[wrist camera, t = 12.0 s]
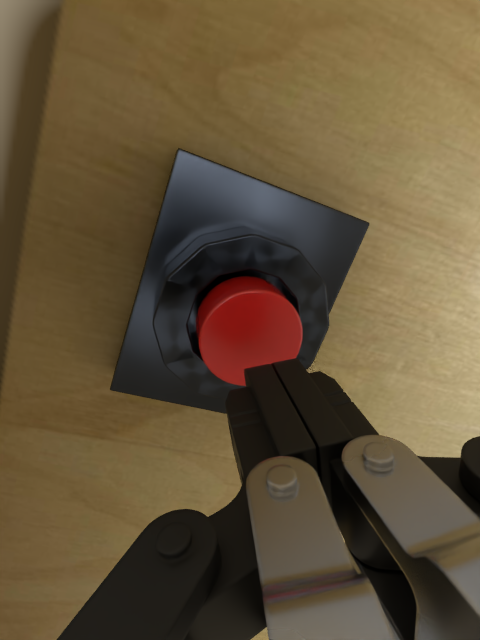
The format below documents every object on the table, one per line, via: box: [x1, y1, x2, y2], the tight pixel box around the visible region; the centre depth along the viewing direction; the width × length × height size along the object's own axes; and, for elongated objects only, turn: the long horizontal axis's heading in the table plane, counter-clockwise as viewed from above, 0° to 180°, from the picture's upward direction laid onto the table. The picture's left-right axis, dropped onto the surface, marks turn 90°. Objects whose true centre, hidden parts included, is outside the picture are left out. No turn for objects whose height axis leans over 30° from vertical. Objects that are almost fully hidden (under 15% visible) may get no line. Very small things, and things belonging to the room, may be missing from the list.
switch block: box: [110, 148, 369, 414], centre depth 16 cm, size 10×8×4 cm
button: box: [196, 276, 303, 386], centre depth 14 cm, size 4×4×2 cm
